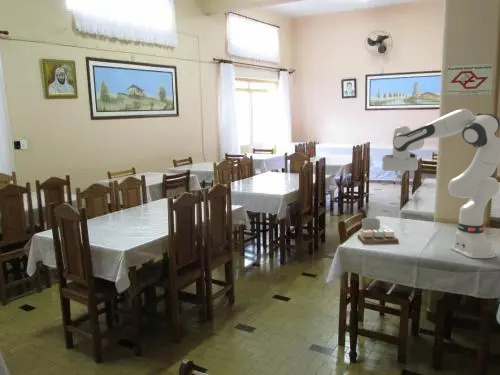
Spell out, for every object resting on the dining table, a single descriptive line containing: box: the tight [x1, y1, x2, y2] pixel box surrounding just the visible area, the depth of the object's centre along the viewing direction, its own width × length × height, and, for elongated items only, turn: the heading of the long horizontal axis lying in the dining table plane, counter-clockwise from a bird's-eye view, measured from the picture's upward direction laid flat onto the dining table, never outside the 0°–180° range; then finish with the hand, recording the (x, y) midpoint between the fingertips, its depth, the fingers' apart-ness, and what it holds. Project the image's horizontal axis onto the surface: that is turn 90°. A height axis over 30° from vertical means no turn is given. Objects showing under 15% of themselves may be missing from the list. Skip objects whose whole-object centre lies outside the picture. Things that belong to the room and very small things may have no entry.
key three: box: [361, 229, 373, 238], centre depth 252 cm, size 5×5×5 cm
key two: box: [372, 229, 384, 238], centre depth 252 cm, size 5×5×5 cm
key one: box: [382, 228, 395, 238], centre depth 252 cm, size 5×5×5 cm
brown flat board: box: [357, 233, 400, 245], centre depth 252 cm, size 12×20×2 cm, turn 91°
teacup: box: [361, 217, 381, 231], centre depth 269 cm, size 14×11×8 cm
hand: (399, 178), depth 258 cm, fingers closed
